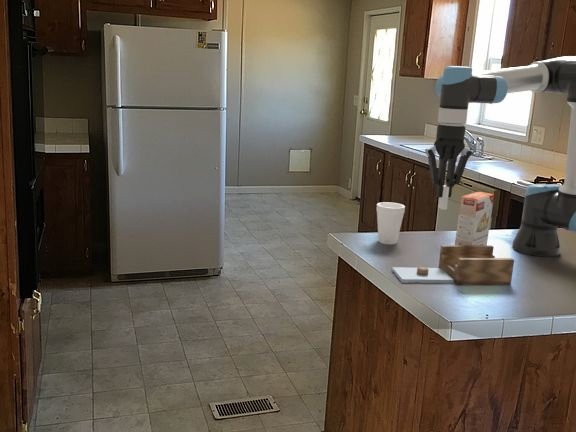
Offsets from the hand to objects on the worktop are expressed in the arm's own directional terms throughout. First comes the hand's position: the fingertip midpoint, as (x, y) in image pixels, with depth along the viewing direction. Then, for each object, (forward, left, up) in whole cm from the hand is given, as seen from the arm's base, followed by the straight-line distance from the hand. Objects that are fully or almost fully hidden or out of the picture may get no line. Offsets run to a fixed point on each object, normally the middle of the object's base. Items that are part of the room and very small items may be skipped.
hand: (442, 208), depth 169 cm
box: (-12, 0, -20) cm, 23 cm away
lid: (+4, 0, -21) cm, 21 cm away
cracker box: (-19, -18, -21) cm, 33 cm away
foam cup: (+3, -36, -21) cm, 41 cm away
